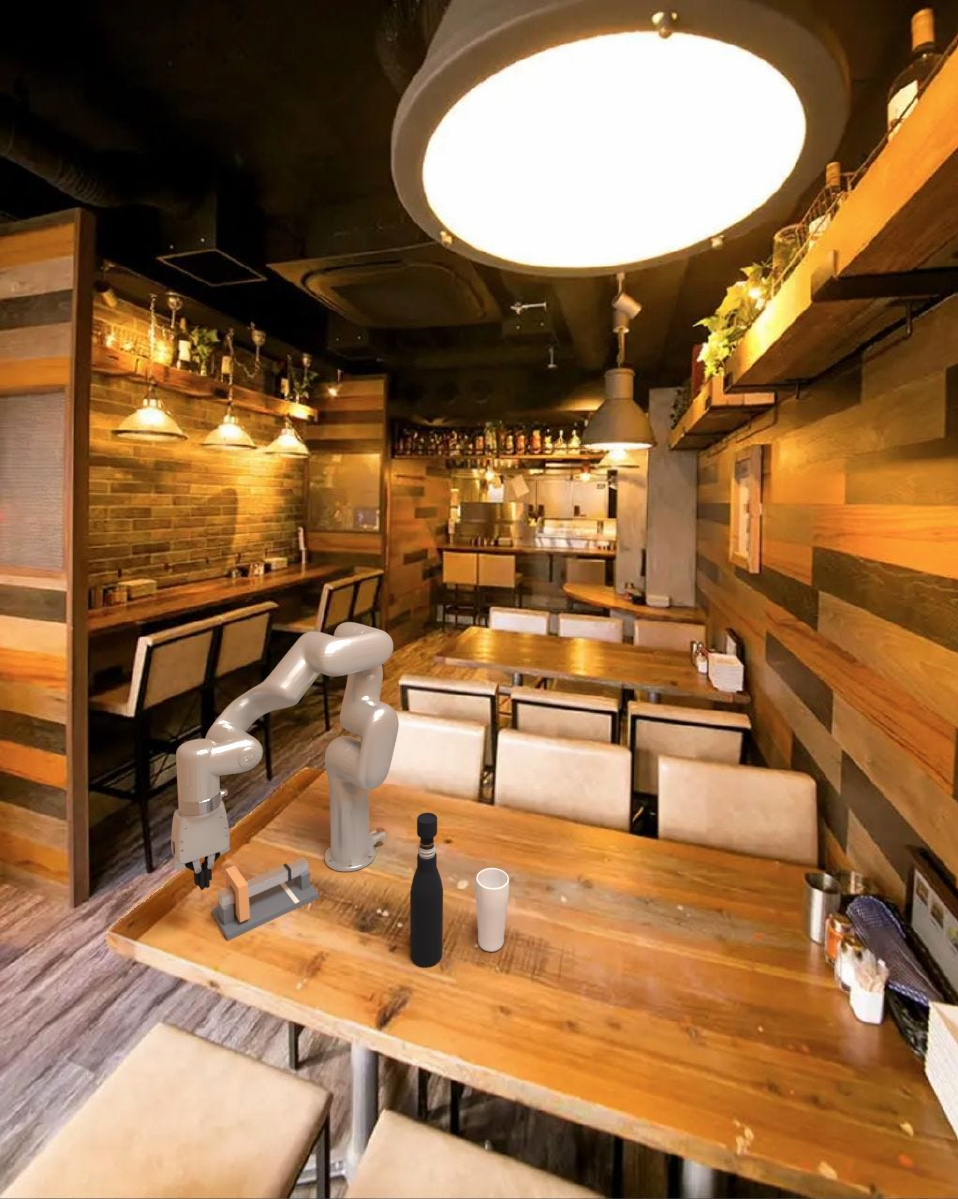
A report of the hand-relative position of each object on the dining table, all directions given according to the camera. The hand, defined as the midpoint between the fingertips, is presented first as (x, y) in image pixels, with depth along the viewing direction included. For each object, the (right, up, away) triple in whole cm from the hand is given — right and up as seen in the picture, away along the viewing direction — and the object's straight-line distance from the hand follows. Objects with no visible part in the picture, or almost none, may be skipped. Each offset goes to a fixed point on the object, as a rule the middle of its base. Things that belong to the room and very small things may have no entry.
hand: (203, 885), depth 117 cm
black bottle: (+46, -13, -2) cm, 48 cm away
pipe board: (+9, -10, +10) cm, 17 cm away
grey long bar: (+9, -5, +9) cm, 14 cm away
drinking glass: (+59, -13, +1) cm, 60 cm away
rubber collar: (+5, -8, +6) cm, 11 cm away
